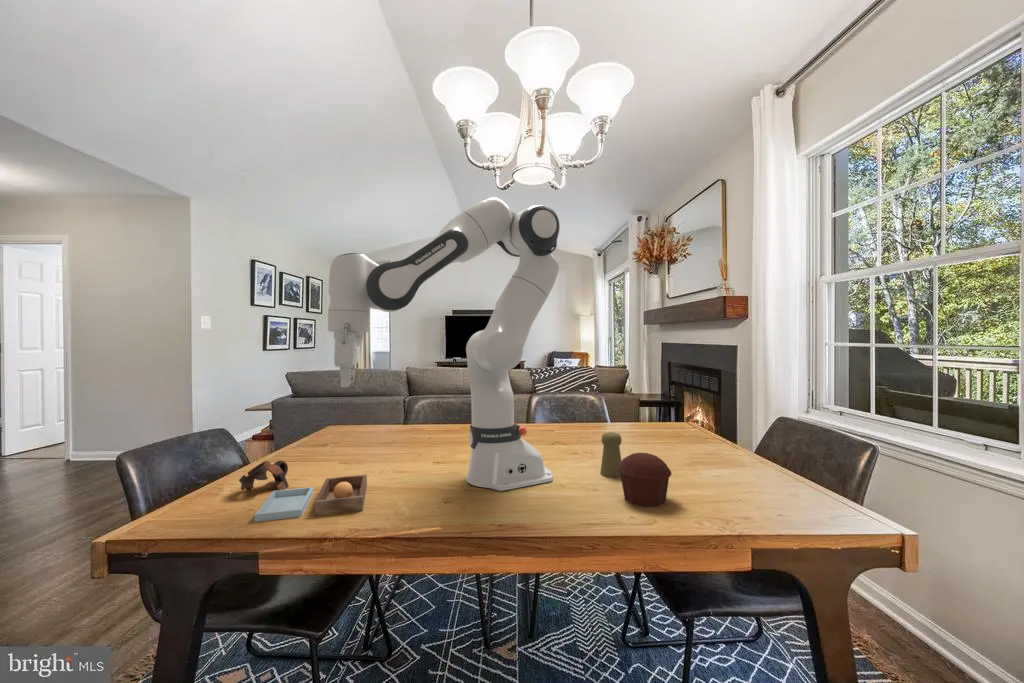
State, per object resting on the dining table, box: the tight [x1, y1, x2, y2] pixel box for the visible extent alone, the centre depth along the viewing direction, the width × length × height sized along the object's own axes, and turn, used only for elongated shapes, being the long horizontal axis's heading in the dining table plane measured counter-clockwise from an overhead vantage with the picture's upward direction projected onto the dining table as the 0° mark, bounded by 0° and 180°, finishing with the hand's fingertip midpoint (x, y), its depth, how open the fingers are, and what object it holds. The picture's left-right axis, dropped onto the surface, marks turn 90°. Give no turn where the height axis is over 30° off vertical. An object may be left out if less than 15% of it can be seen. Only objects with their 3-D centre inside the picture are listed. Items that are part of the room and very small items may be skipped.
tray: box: [253, 486, 315, 523], centre depth 91 cm, size 8×14×2 cm, turn 16°
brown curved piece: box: [238, 460, 290, 492], centre depth 104 cm, size 12×10×8 cm
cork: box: [600, 431, 622, 479], centre depth 112 cm, size 6×6×11 cm
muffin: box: [618, 452, 672, 508], centre depth 94 cm, size 12×11×10 cm
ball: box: [334, 482, 353, 498], centre depth 95 cm, size 4×4×4 cm
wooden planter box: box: [314, 474, 368, 517], centre depth 95 cm, size 9×16×4 cm, turn 16°
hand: (347, 384), depth 96 cm, fingers open, 8 cm apart
